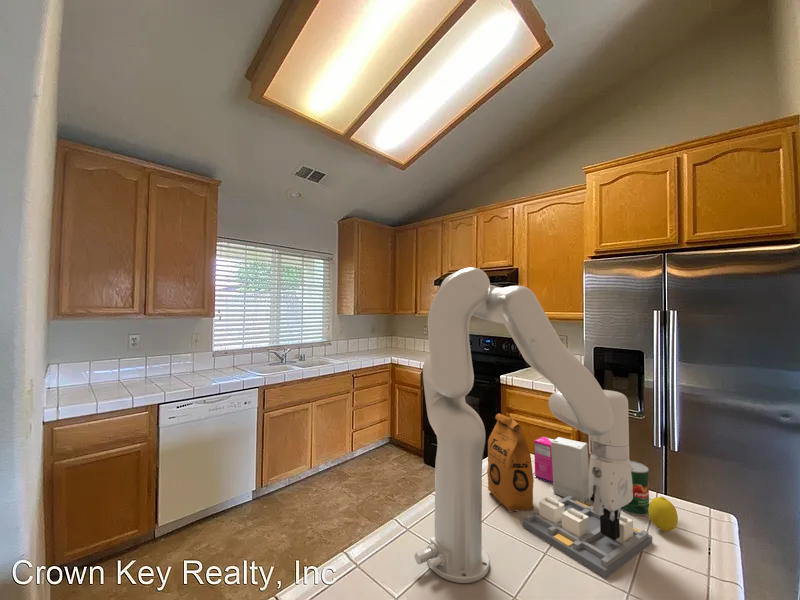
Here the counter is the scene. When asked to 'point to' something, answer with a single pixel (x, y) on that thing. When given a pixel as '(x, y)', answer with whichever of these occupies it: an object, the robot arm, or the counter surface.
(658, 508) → the lemon
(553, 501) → the tab far
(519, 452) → the coffee package
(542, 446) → the supplement box
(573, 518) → the tab middle
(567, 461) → the skincare box
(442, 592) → the counter surface
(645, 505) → the canned tomato
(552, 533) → the switch board
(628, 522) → the tab near
